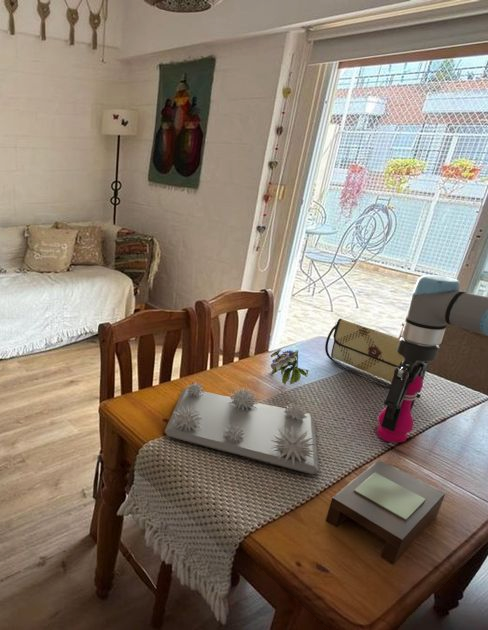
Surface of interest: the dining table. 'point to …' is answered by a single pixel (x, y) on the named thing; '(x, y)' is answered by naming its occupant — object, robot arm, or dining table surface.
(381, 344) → the clutch purse
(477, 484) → the dining table surface
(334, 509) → the shelf
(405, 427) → the pepper mill
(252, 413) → the decorative tray
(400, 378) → the robot arm
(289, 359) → the passion flower
